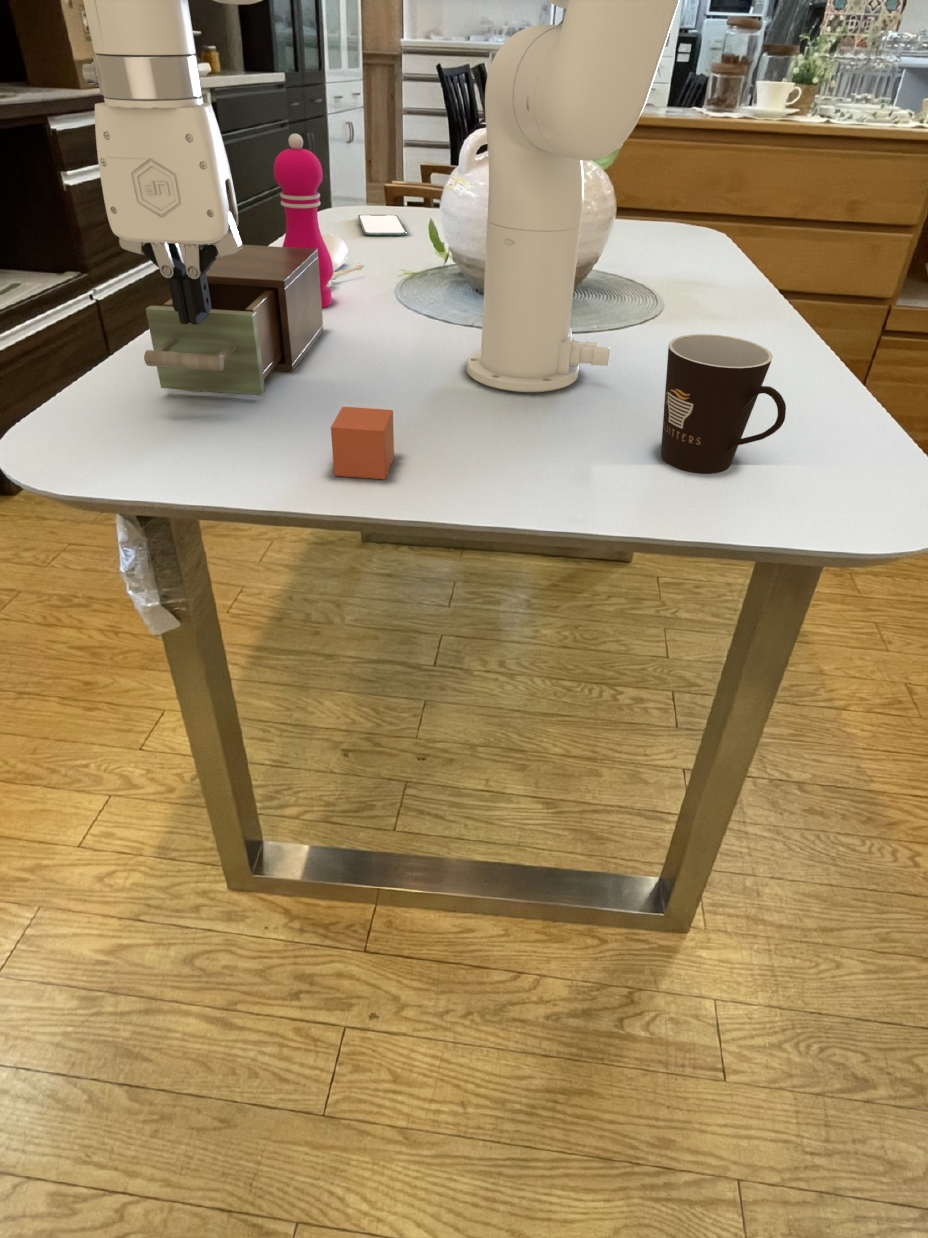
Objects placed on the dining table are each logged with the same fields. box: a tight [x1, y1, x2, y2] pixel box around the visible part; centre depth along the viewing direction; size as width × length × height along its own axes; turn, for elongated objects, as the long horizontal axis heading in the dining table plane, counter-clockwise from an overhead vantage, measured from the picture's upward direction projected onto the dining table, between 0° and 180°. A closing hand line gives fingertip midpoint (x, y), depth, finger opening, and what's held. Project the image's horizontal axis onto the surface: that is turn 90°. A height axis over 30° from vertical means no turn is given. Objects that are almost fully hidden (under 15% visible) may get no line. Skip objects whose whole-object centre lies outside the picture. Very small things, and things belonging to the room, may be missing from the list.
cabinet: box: [206, 244, 324, 373], centre depth 92 cm, size 15×12×10 cm
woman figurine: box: [321, 234, 365, 288], centre depth 121 cm, size 12×4×18 cm
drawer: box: [143, 284, 284, 396], centre depth 82 cm, size 19×10×8 cm, turn 175°
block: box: [330, 406, 395, 480], centre depth 69 cm, size 4×4×4 cm
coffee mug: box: [660, 333, 787, 475], centre depth 70 cm, size 12×9×10 cm
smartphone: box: [357, 214, 407, 236], centre depth 151 cm, size 8×1×16 cm
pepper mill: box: [273, 133, 333, 309], centre depth 104 cm, size 7×7×20 cm
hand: (195, 319), depth 74 cm, fingers closed
